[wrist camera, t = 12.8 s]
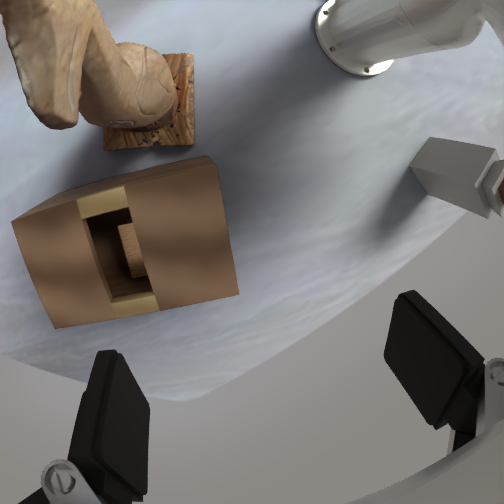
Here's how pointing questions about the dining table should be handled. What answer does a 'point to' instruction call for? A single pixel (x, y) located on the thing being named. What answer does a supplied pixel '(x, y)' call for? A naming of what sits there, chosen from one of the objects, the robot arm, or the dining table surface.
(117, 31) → the dining table surface
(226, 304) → the dining table surface
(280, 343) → the dining table surface
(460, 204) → the perfume bottle
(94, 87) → the bird sculpture
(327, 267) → the dining table surface
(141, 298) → the box
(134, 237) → the tan flat square block
